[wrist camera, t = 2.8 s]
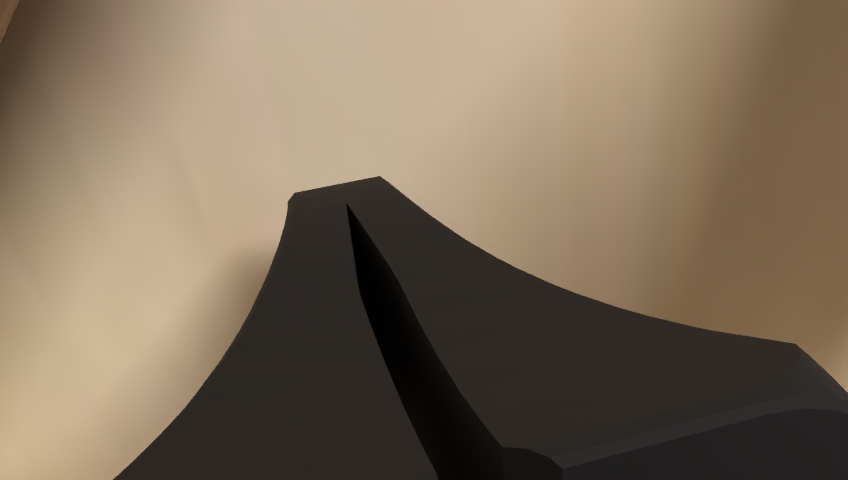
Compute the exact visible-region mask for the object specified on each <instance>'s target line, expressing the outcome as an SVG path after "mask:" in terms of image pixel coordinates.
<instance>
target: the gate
mask: <svg viewBox="0 0 848 480" xmlns="http://www.w3.org/2000/svg"><path fill="white" fill-rule="evenodd" d="M18 3H19V0H0V44H1V41H2V39H3V37H4V35H5V32H6V30H7V28H8V25H9V23H10V21H11V19H12V16H13V14H14V12H15V9H16V7H17V5H18Z"/></svg>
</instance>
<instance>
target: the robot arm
mask: <svg viewBox="0 0 848 480" xmlns="http://www.w3.org/2000/svg"><path fill="white" fill-rule="evenodd" d="M113 480H848V393H847V392H846V391H845V390H844V389H843V388H842V387H841V386H840V385H839V384H838V383H837V382H836V381H835V380H834V378H833V377H832V376H831V375H829V374H828V373H827V372H826V371H825V370H824V369H823V368H822V367H821V366H820V365H819V364H818V363H817V362H815V361H814V360H813V359H812V358H811V357H810V356H809V355H808V354H807V353H805V352H804V351H803V350H802V349H801V348H799V347H798V346H797V345H796V344H792V343H786V342H780V341H773V340H767V339H761V338H755V337H748V336H742V335H736V334H730V333H723V332H717V331H711V330H706V329H701V328H696V327H691V326H687V325H683V324H679V323H675V322H670V321H666V320H662V319H658V318H653V317H649V316H646V315H642V314H639V313H635V312H632V311H628V310H624V309H621V308H618V307H614V306H612V305H609V304H606V303H603V302H600V301H597V300H594V299H591V298H588V297H585V296H582V295H579V294H576V293H573V292H571V291H568V290H566V289H563V288H561V287H558V286H556V285H553V284H551V283H548V282H546V281H544V280H542V279H540V278H537V277H535V276H533V275H531V274H529V273H526V272H524V271H522V270H520V269H518V268H515V267H513V266H512V265H510V264H508V263H506V262H504V261H502V260H500V259H498V258H496V257H494V256H493V255H491V254H489V253H488V252H486V251H484V250H482V249H481V248H479V247H477V246H475V245H474V244H472V243H470V242H469V241H467V240H465V239H464V238H462V237H461V236H459V235H458V234H456V233H455V232H453V231H452V230H451V229H449V228H448V227H446V226H445V225H443V224H442V223H440V222H439V221H438V220H436V219H435V218H433V217H432V216H431V215H429V214H428V213H427V212H425V211H424V210H423V209H421V208H420V207H419V206H418V205H416V204H415V203H414V202H412V201H411V200H410V199H409V198H407V197H406V196H405V195H404V194H402V193H401V192H400V191H399V190H397V189H396V188H395V187H394V186H393V185H391V184H390V183H389V182H387V181H386V180H385V179H383V178H382V177H380V176H378V177H373V178H368V179H363V180H358V181H353V182H348V183H342V184H337V185H332V186H327V187H322V188H317V189H312V190H307V191H302V192H297V193H294V194H293V196H292V197H291V198H290V199H289V201H288V210H287V217H286V221H285V226H284V229H283V233H282V236H281V240H280V243H279V246H278V248H277V251H276V254H275V256H274V259H273V262H272V265H271V267H270V270H269V273H268V275H267V277H266V280H265V282H264V284H263V286H262V288H261V290H260V292H259V294H258V296H257V298H256V300H255V303H254V305H253V307H252V309H251V311H250V313H249V315H248V317H247V318H246V320H245V322H244V324H243V325H242V327H241V329H240V331H239V332H238V334H237V336H236V337H235V339H234V341H233V342H232V344H231V345H230V347H229V348H228V350H227V352H226V353H225V355H224V356H223V358H222V359H221V361H220V362H219V364H218V365H217V366H216V368H215V369H214V370H213V372H212V373H211V374H210V376H209V377H208V378H207V380H206V381H205V383H204V384H203V385H202V387H201V388H200V389H199V391H198V392H197V393H196V395H195V396H194V397H193V398H192V400H191V401H190V402H189V403H188V405H187V406H186V407H185V408H184V409H183V411H182V412H181V413H180V414H179V415H178V416H177V417H176V418H175V419H174V420H173V421H172V423H171V424H170V425H169V426H168V427H167V428H166V429H165V430H164V431H163V432H162V433H161V434H160V435H159V436H158V437H157V438H156V439H155V440H154V441H153V442H152V443H151V444H150V445H149V446H148V447H147V448H146V449H145V450H144V451H143V452H142V453H141V454H140V455H139V456H138V457H137V458H136V459H135V460H134V461H133V462H132V463H131V464H130V465H129V466H128V467H127V468H125V469H124V470H123V471H122V472H121V473H120V474H119V475H118V476H117V477H115V478H114V479H113Z"/></svg>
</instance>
